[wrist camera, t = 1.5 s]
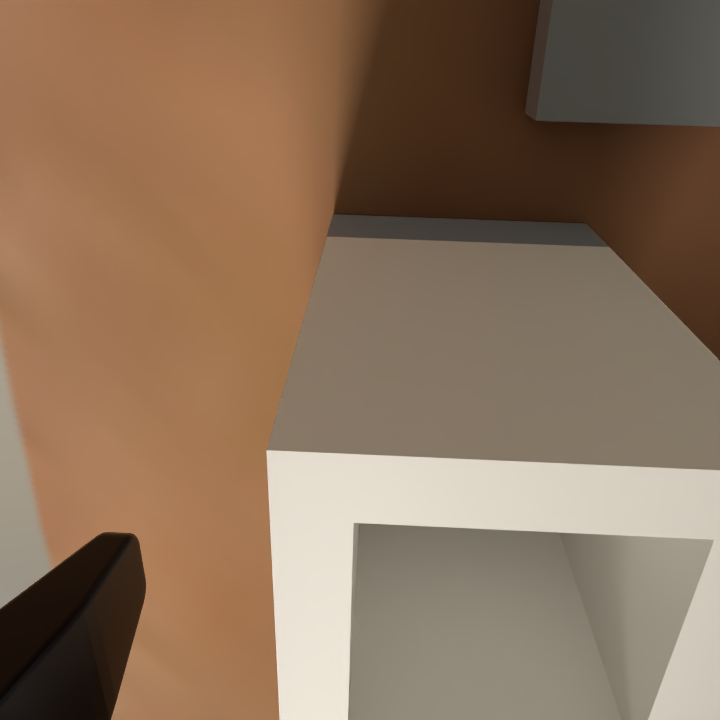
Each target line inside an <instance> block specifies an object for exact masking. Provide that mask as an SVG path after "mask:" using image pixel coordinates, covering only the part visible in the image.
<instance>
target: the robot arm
mask: <svg viewBox="0 0 720 720" xmlns="http://www.w3.org/2000/svg"><path fill="white" fill-rule="evenodd" d="M145 593H146V579H145V574H144V568H143V562H142V556H141V550H140V544H139V541H138V538H137V537H136V536H135V535H134V534H131V533H116V532H105V533H102V534H100V535H98V536H96V537H95V538H94V539H92V540H91V541H90V542H88V543H87V544H86V545H84V546H83V547H82V548H80V549H79V550H78V551H76V552H75V553H74V554H72V555H71V556H70V557H68V558H67V559H66V560H64V561H63V562H62V563H60V564H59V565H58V566H56V567H55V568H54V569H52V570H51V571H50V572H49V573H47V574H46V575H45V576H43V577H42V578H41V579H39V580H38V581H37V582H35V583H34V584H33V585H31V586H30V587H29V588H27V589H26V590H25V591H23V592H22V593H21V594H19V595H18V596H17V597H15V598H14V599H13V600H11V601H10V602H9V603H7V604H6V605H5V606H3V607H2V608H1V609H0V720H111V717H112V714H113V711H114V707H115V704H116V701H117V697H118V693H119V690H120V686H121V683H122V679H123V675H124V672H125V668H126V665H127V661H128V657H129V654H130V650H131V646H132V643H133V639H134V636H135V632H136V628H137V625H138V621H139V618H140V614H141V610H142V607H143V603H144V599H145Z"/></svg>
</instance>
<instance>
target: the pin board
mask: <svg viewBox="0 0 720 720" xmlns="http://www.w3.org/2000/svg"><path fill="white" fill-rule="evenodd" d="M525 114H527V115H528V116H529V117H531V118H532V119H534V120H535V121H558V122H588V123H618V124H648V125H678V126H708V127H720V0H540V4H539V12H538V19H537V27H536V34H535V41H534V49H533V56H532V63H531V71H530V78H529V86H528V93H527V100H526V108H525Z"/></svg>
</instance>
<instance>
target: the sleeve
mask: <svg viewBox="0 0 720 720" xmlns="http://www.w3.org/2000/svg"><path fill="white" fill-rule="evenodd" d="M267 469H268V490H269V510H270V530H271V551H272V571H273V592H274V612H275V633H276V653H277V674H278V694H279V715H280V720H720V360H719V359H718V358H717V357H716V356H715V355H714V354H713V353H712V352H711V351H710V350H709V349H708V348H707V347H706V346H705V345H704V344H703V343H702V342H701V341H700V340H699V339H698V338H697V337H696V336H695V335H694V334H693V332H692V331H691V330H690V329H689V328H688V327H687V326H686V325H685V324H684V323H683V322H682V321H681V320H680V319H679V318H678V317H677V316H676V315H675V314H674V313H673V312H672V311H671V310H670V309H669V308H668V307H667V306H666V305H665V304H664V303H663V302H662V301H661V300H660V299H659V298H658V296H657V295H656V294H655V293H654V292H653V291H652V290H651V289H650V288H649V287H648V286H647V285H646V284H645V283H644V282H643V281H642V280H641V279H640V278H639V277H638V276H637V275H636V274H635V273H634V272H633V271H632V270H631V269H630V268H629V267H628V266H627V265H626V264H625V263H624V262H623V260H622V259H621V258H620V257H619V256H618V255H617V254H616V253H615V252H614V251H613V250H612V249H611V248H610V247H609V246H608V245H607V244H606V243H605V242H604V241H603V240H602V239H601V238H600V237H599V236H598V235H597V234H596V233H595V232H594V231H593V230H592V229H591V228H590V227H589V226H588V224H587V223H559V222H532V221H505V220H477V219H450V218H422V217H395V216H368V215H340V214H333V217H332V220H331V224H330V227H329V231H328V234H327V238H326V242H325V245H324V249H323V252H322V256H321V259H320V263H319V266H318V270H317V273H316V277H315V281H314V284H313V288H312V291H311V295H310V298H309V302H308V305H307V309H306V312H305V316H304V319H303V323H302V327H301V330H300V334H299V337H298V341H297V344H296V348H295V351H294V355H293V358H292V362H291V366H290V369H289V373H288V376H287V380H286V383H285V387H284V390H283V394H282V397H281V401H280V404H279V408H278V412H277V415H276V419H275V422H274V426H273V429H272V433H271V436H270V440H269V443H268V447H267Z"/></svg>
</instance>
